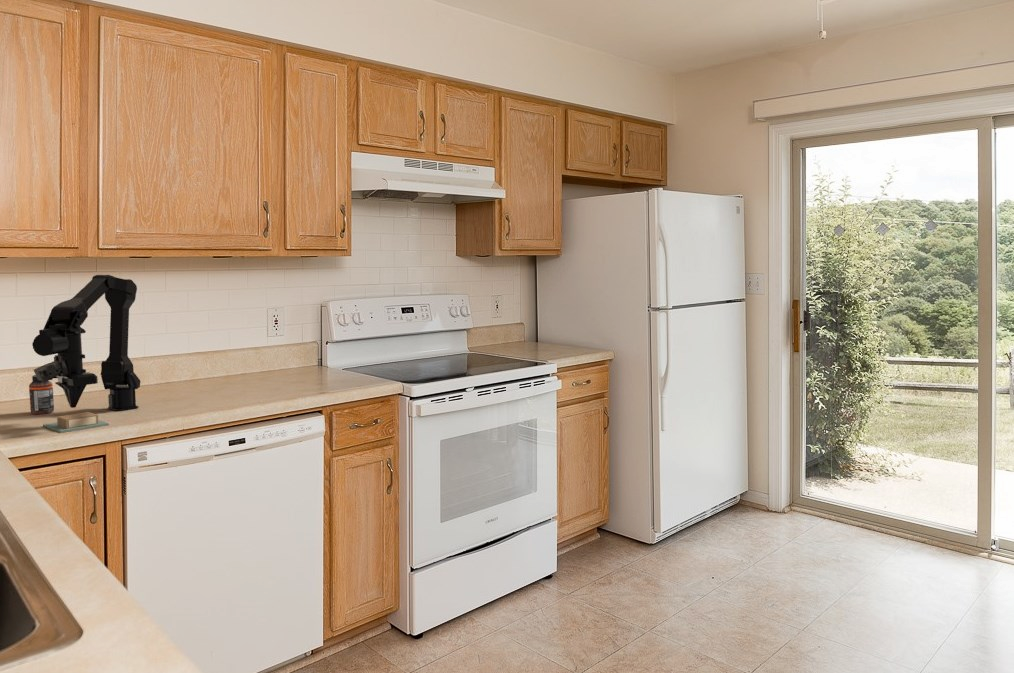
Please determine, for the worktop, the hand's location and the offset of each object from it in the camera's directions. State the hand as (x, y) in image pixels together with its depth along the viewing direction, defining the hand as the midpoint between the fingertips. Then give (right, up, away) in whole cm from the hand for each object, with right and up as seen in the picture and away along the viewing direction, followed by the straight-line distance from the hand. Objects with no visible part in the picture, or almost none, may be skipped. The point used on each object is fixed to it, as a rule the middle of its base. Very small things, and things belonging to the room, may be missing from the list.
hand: (73, 407), depth 201 cm
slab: (0, -3, 0) cm, 3 cm away
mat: (+1, -5, 0) cm, 5 cm away
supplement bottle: (-19, -3, +16) cm, 25 cm away
